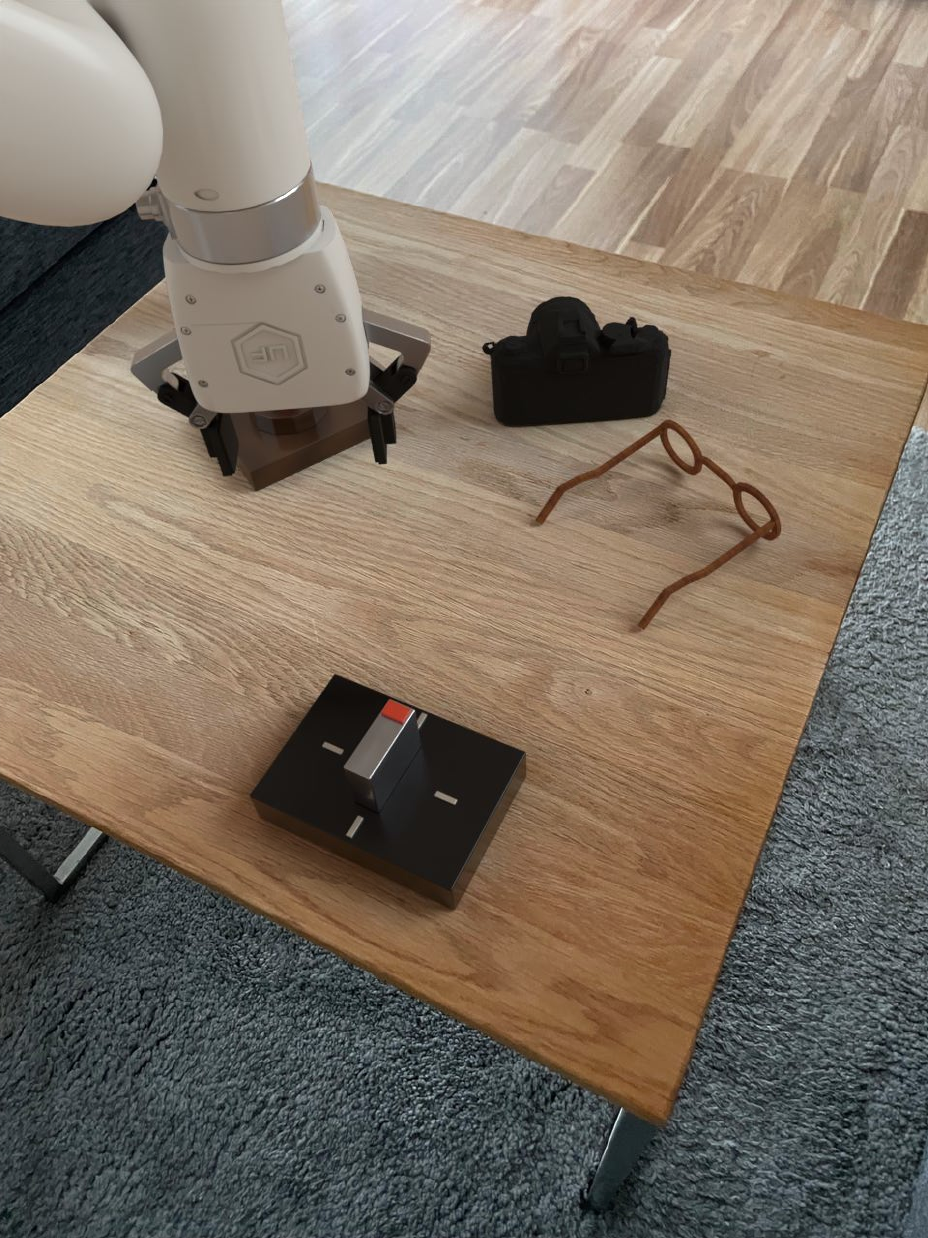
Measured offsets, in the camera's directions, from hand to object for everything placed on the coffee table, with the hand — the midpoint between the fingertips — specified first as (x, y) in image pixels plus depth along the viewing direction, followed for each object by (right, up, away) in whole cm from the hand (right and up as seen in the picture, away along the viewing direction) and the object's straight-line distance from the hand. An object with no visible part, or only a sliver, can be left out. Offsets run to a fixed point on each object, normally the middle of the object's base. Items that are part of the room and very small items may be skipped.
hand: (306, 455), depth 65 cm
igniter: (-4, +6, +22) cm, 23 cm away
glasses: (+24, -4, +12) cm, 28 cm away
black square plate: (+6, -22, 0) cm, 22 cm away
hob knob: (+5, -20, -3) cm, 21 cm away
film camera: (+19, +9, +23) cm, 31 cm away
